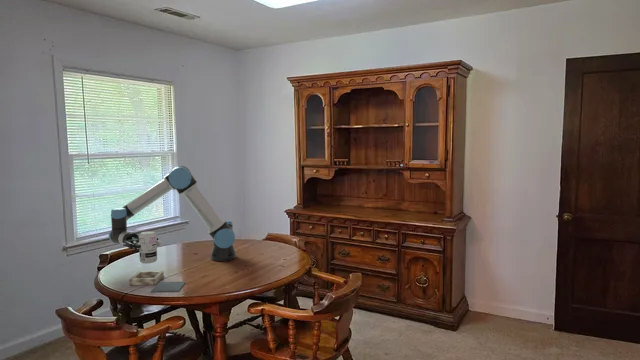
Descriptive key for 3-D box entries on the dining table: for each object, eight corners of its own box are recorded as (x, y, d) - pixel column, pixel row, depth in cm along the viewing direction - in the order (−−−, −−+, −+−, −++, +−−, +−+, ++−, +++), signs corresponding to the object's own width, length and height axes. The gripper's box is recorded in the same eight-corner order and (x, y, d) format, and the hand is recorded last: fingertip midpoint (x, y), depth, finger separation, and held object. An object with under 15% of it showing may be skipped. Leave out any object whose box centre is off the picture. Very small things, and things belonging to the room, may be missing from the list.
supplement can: (143, 259, 219) (142, 231, 217) (159, 259, 219) (158, 230, 218) (137, 264, 211) (136, 234, 209) (154, 263, 211) (153, 234, 210)
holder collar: (163, 276, 225) (163, 270, 225) (156, 284, 212) (155, 278, 212) (138, 276, 224) (138, 271, 224) (129, 285, 211) (129, 279, 211)
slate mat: (185, 282, 215) (185, 281, 215) (178, 291, 202) (178, 290, 202) (159, 283, 214) (159, 282, 214) (151, 292, 201) (150, 291, 201)
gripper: (147, 242, 233) (171, 248, 220) (109, 250, 217) (133, 257, 203) (147, 229, 233) (171, 234, 219) (109, 235, 216) (133, 242, 203)
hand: (153, 245), depth 211 cm, fingers closed on supplement can, 8 cm apart
